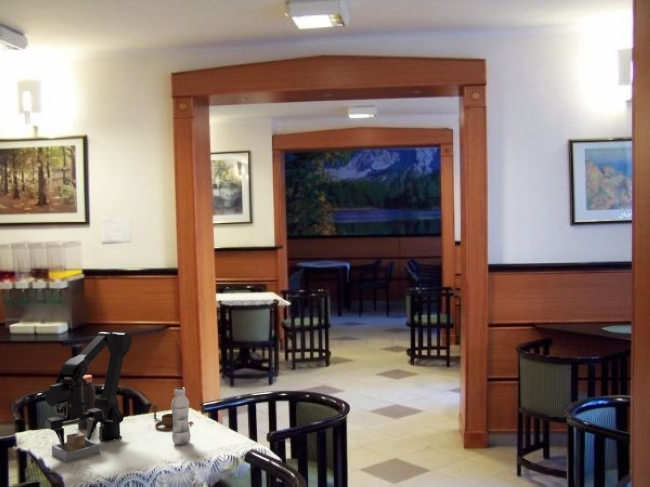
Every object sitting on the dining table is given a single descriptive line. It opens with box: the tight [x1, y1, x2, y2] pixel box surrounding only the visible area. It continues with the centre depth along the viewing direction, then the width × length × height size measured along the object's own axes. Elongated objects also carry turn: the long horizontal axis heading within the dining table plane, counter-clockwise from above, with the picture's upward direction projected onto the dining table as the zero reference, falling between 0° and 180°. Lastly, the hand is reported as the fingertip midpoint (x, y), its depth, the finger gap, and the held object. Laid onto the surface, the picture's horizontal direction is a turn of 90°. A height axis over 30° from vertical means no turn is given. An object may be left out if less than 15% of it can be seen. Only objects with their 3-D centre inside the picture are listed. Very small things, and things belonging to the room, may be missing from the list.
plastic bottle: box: [170, 387, 192, 446], centre depth 246 cm, size 6×7×20 cm
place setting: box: [151, 404, 194, 432], centre depth 271 cm, size 18×20×6 cm
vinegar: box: [77, 374, 96, 430], centre depth 269 cm, size 7×7×20 cm
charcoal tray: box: [51, 436, 101, 464], centre depth 238 cm, size 12×12×3 cm
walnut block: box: [66, 431, 86, 452], centre depth 238 cm, size 4×4×6 cm
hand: (75, 442), depth 238 cm, fingers open, 9 cm apart
